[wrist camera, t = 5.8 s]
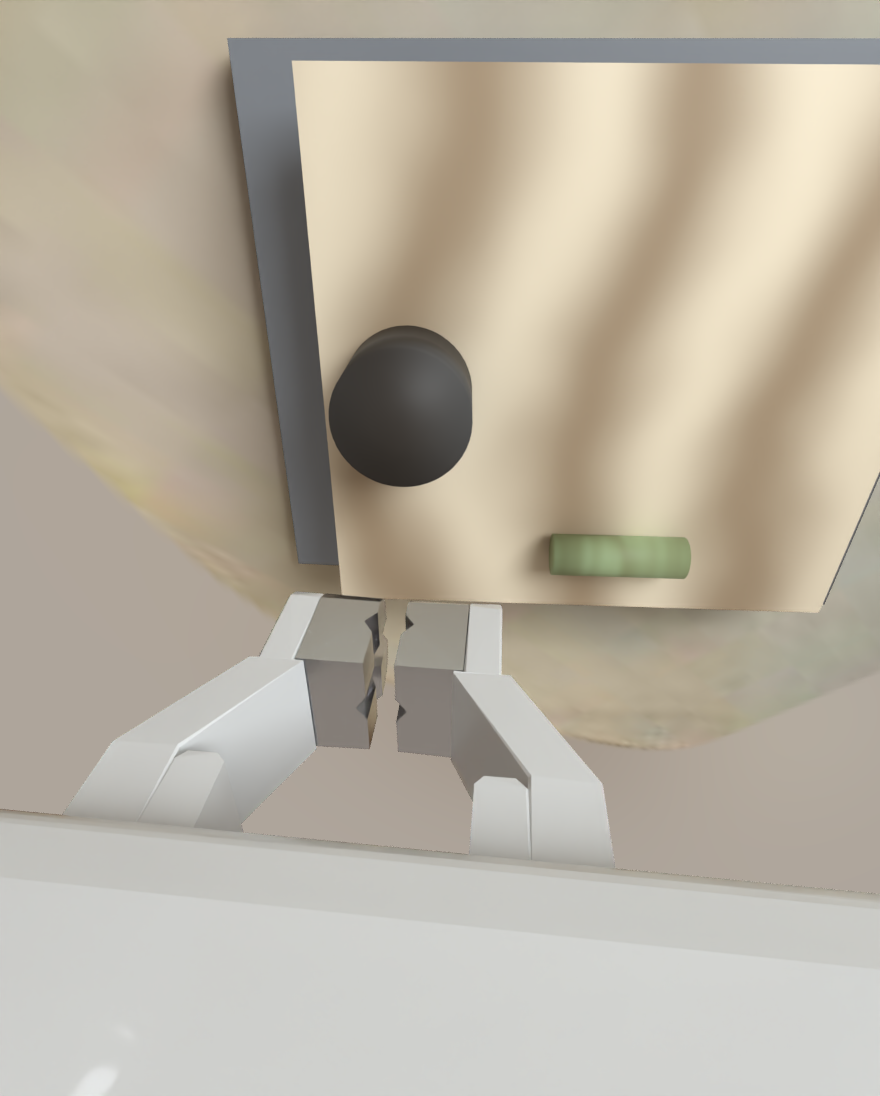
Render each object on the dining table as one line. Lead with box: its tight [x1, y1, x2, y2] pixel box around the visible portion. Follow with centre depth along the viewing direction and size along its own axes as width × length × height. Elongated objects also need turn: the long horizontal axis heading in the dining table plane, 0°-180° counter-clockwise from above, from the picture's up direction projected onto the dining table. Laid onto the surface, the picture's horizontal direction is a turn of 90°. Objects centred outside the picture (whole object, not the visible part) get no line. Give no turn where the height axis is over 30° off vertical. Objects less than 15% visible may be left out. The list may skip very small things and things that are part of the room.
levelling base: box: [227, 38, 880, 604], centre depth 24 cm, size 24×20×4 cm
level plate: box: [292, 61, 880, 613], centre depth 20 cm, size 20×18×4 cm
